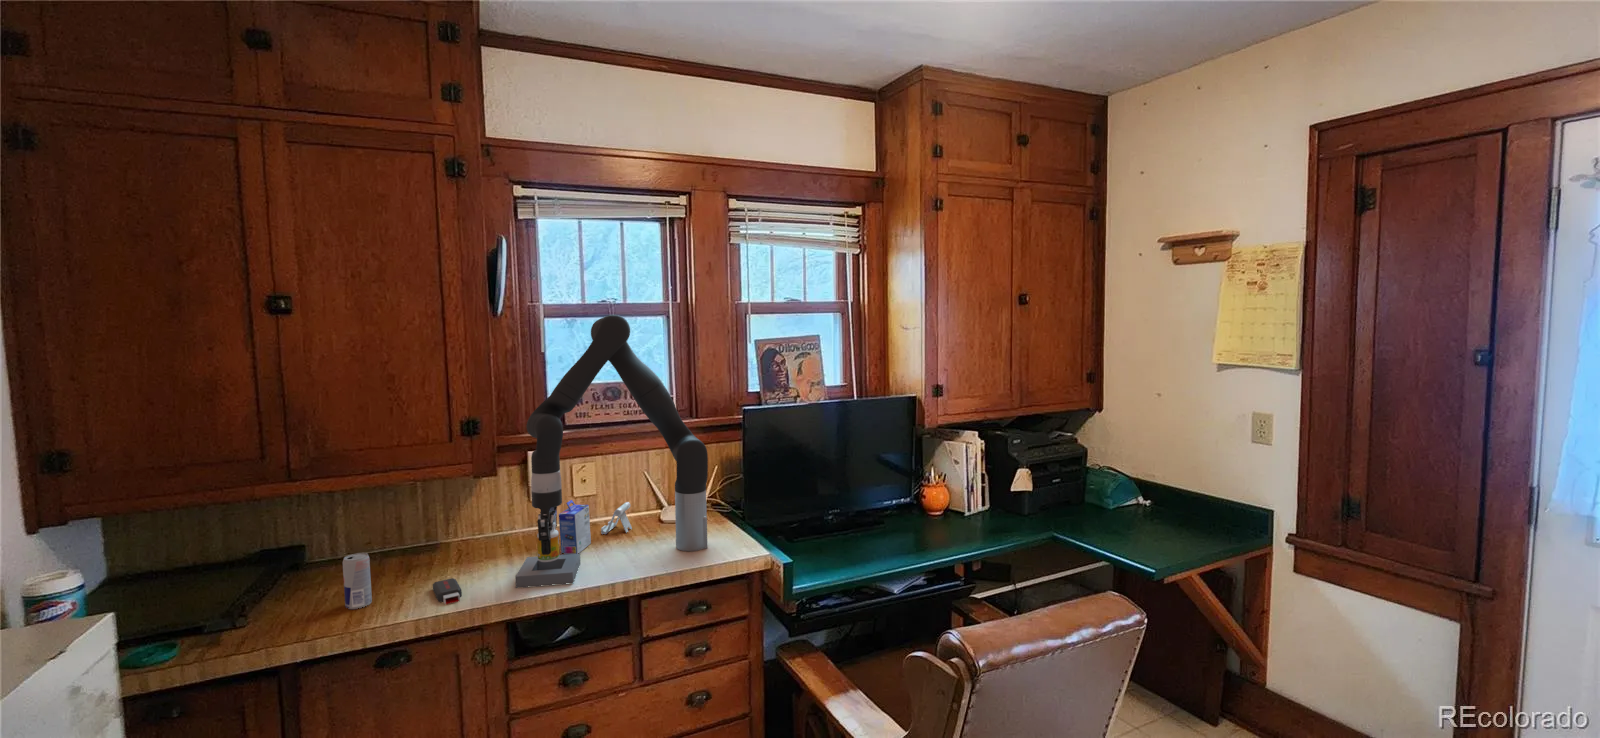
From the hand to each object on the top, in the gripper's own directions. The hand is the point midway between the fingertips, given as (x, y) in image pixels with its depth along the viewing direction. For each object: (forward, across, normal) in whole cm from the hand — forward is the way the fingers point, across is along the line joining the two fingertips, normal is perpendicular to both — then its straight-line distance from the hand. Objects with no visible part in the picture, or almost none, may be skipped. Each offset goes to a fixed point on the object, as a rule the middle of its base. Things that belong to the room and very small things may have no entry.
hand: (548, 549), depth 177 cm
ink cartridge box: (+7, +20, -4) cm, 22 cm away
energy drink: (+7, -10, +42) cm, 44 cm away
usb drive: (+8, -8, +23) cm, 25 cm away
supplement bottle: (+3, 0, 0) cm, 3 cm away
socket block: (+7, 0, 0) cm, 7 cm away
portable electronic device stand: (+7, +35, -15) cm, 39 cm away
